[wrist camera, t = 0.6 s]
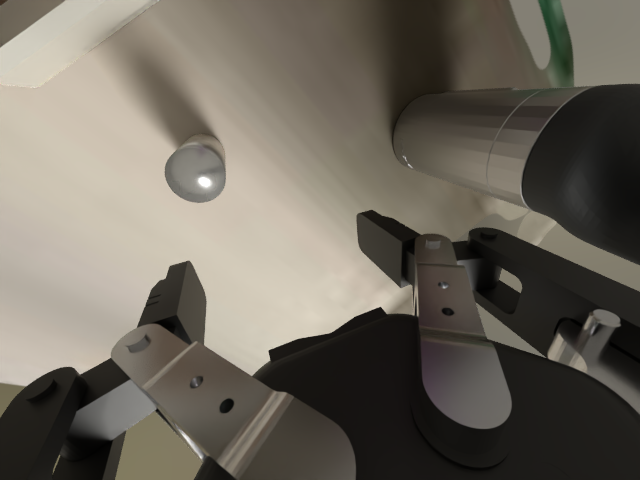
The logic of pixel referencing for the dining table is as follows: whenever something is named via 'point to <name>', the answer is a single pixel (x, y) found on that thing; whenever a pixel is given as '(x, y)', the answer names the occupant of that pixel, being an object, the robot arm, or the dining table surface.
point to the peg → (197, 169)
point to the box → (56, 34)
